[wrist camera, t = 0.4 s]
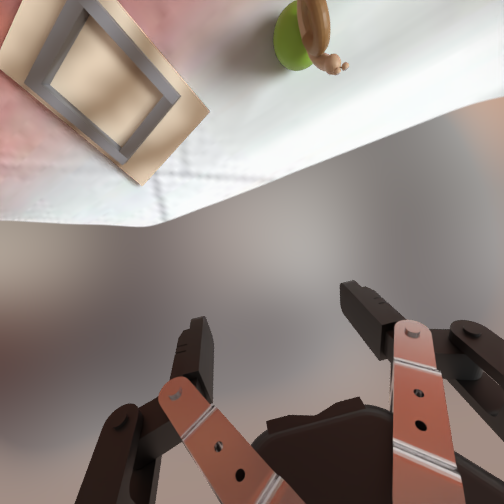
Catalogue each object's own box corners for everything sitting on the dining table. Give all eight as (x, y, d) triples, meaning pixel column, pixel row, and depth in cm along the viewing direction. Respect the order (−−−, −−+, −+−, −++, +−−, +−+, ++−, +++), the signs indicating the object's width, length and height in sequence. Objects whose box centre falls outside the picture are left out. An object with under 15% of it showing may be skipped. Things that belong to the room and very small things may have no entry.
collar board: (3, 64, 25) (-19, 62, 23) (63, -65, 21) (43, -83, 18) (144, 183, 34) (138, 190, 32) (210, 111, 29) (208, 113, 27)
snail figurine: (284, 90, 29) (311, 91, 19) (261, 27, 25) (281, -11, 15) (325, 65, 27) (377, 52, 18) (308, -5, 24) (360, -69, 14)
